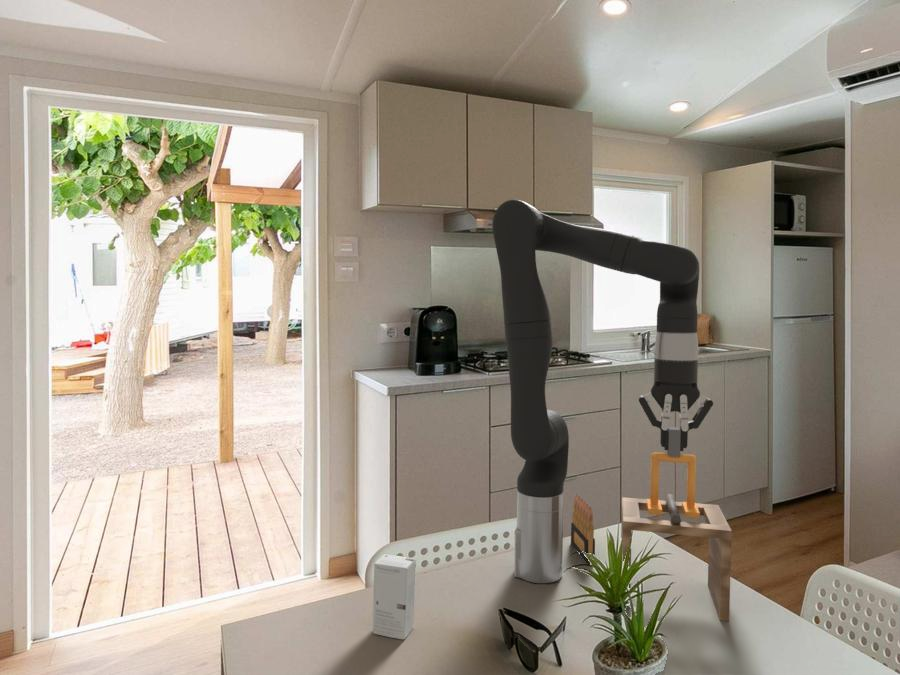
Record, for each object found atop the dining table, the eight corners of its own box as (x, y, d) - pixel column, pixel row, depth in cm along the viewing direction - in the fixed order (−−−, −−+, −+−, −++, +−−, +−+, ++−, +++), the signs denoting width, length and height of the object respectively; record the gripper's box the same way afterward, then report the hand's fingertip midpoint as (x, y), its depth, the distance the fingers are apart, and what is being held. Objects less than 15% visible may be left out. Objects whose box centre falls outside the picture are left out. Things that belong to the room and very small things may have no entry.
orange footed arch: (648, 514, 113) (650, 430, 112) (646, 503, 119) (648, 424, 118) (699, 518, 111) (701, 433, 110) (695, 507, 116) (697, 426, 115)
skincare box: (371, 634, 102) (371, 563, 101) (382, 621, 106) (382, 552, 106) (406, 641, 100) (406, 568, 100) (416, 627, 105) (416, 557, 104)
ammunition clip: (595, 563, 130) (596, 507, 130) (586, 563, 130) (587, 508, 129) (578, 543, 141) (579, 492, 140) (570, 543, 141) (571, 492, 140)
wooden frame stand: (621, 607, 111) (623, 512, 110) (620, 574, 125) (622, 489, 124) (729, 621, 107) (732, 521, 106) (716, 585, 120) (718, 496, 119)
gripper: (637, 357, 111) (635, 452, 112) (719, 359, 108) (716, 457, 109) (636, 354, 119) (634, 443, 120) (713, 356, 115) (710, 447, 116)
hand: (673, 449), depth 114 cm, fingers closed on orange footed arch
